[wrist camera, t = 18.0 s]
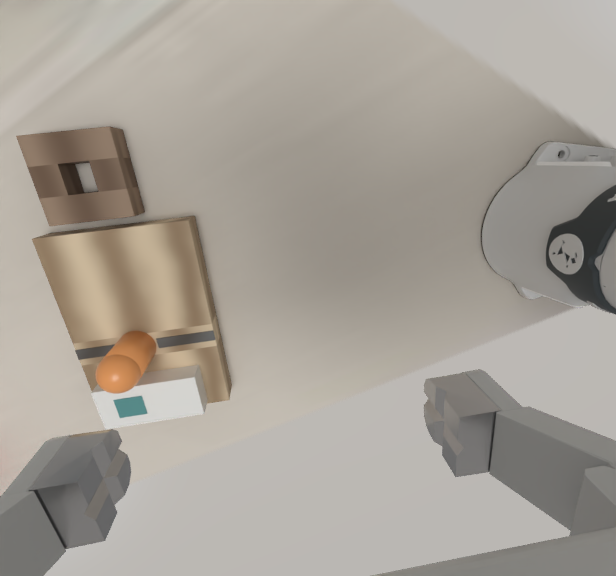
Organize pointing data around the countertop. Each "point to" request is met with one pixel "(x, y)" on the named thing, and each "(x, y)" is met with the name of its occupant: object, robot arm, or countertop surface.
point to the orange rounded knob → (125, 362)
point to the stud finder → (154, 398)
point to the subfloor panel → (138, 295)
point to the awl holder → (65, 181)
